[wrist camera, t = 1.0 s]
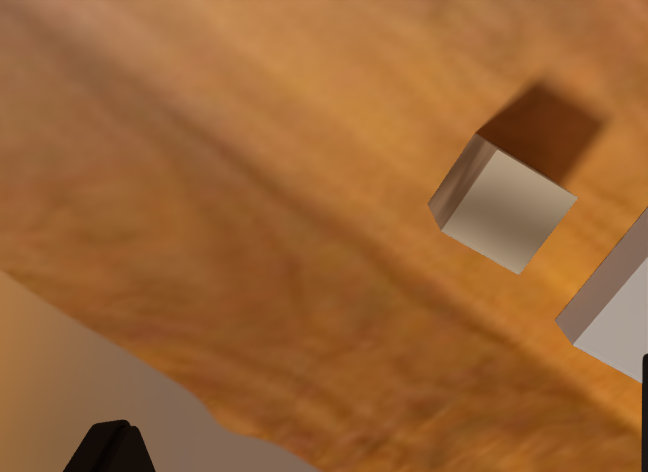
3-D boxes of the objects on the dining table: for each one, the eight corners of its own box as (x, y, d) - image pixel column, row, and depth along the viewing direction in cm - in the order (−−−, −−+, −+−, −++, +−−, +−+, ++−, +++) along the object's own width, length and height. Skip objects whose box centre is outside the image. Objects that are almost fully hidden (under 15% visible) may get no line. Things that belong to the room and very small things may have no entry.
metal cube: (474, 132, 32) (497, 149, 27) (544, 174, 33) (578, 197, 28) (427, 203, 34) (441, 231, 29) (494, 242, 34) (518, 275, 30)
